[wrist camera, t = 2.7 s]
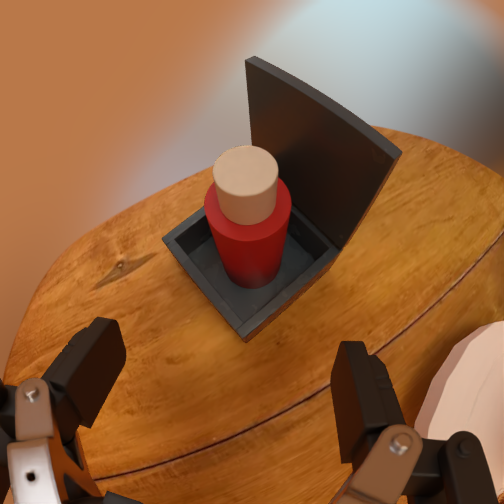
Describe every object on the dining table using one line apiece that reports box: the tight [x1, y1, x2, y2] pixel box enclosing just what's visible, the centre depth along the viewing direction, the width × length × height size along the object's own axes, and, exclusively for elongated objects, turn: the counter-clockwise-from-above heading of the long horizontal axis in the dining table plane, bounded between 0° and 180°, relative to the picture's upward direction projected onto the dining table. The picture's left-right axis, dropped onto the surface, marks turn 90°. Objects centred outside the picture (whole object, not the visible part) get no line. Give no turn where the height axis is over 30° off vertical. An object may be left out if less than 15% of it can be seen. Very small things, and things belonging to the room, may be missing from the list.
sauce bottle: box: [204, 145, 292, 289], centre depth 20 cm, size 5×5×13 cm
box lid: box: [245, 56, 402, 249], centre depth 18 cm, size 11×10×1 cm
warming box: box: [162, 201, 343, 343], centre depth 24 cm, size 10×10×5 cm
